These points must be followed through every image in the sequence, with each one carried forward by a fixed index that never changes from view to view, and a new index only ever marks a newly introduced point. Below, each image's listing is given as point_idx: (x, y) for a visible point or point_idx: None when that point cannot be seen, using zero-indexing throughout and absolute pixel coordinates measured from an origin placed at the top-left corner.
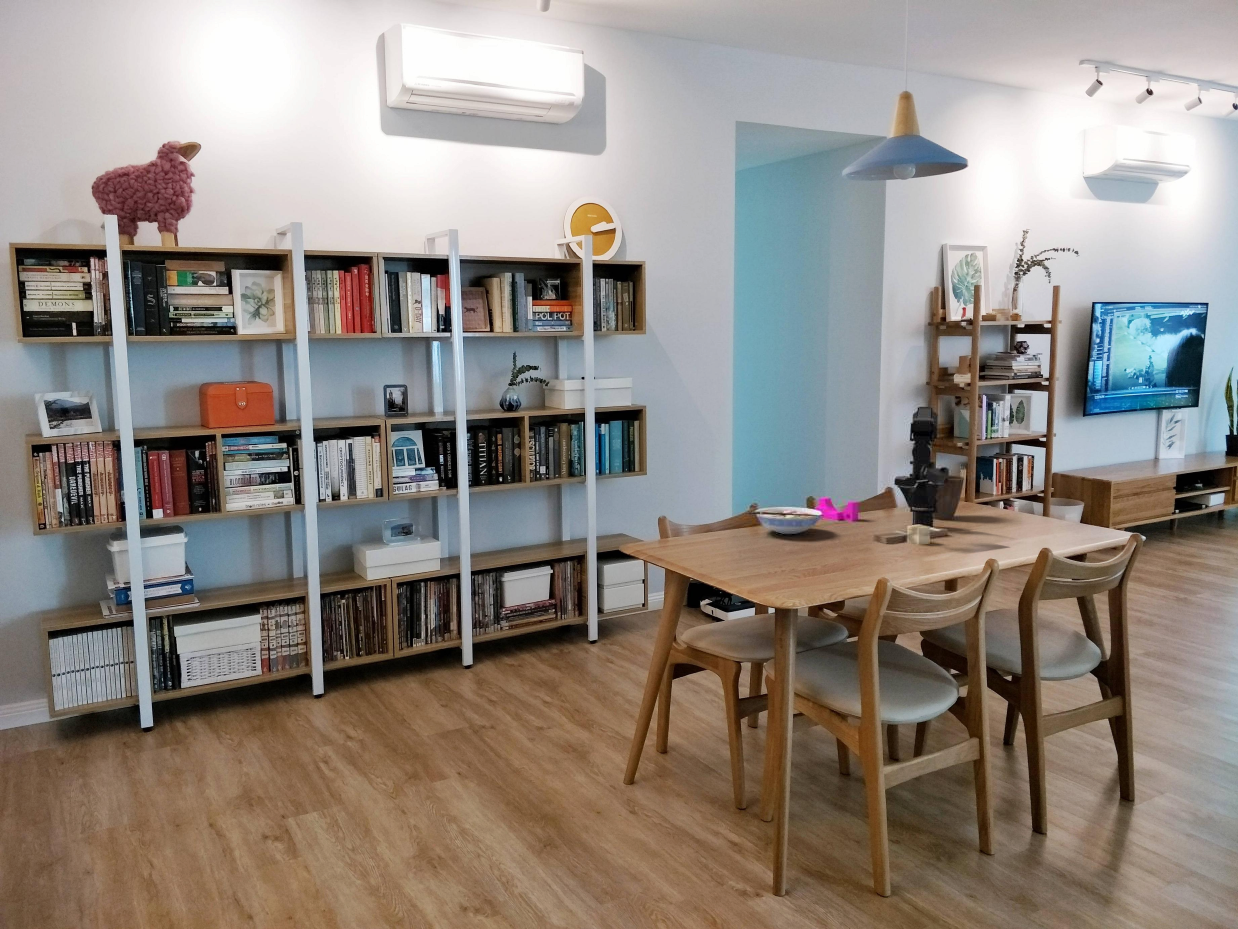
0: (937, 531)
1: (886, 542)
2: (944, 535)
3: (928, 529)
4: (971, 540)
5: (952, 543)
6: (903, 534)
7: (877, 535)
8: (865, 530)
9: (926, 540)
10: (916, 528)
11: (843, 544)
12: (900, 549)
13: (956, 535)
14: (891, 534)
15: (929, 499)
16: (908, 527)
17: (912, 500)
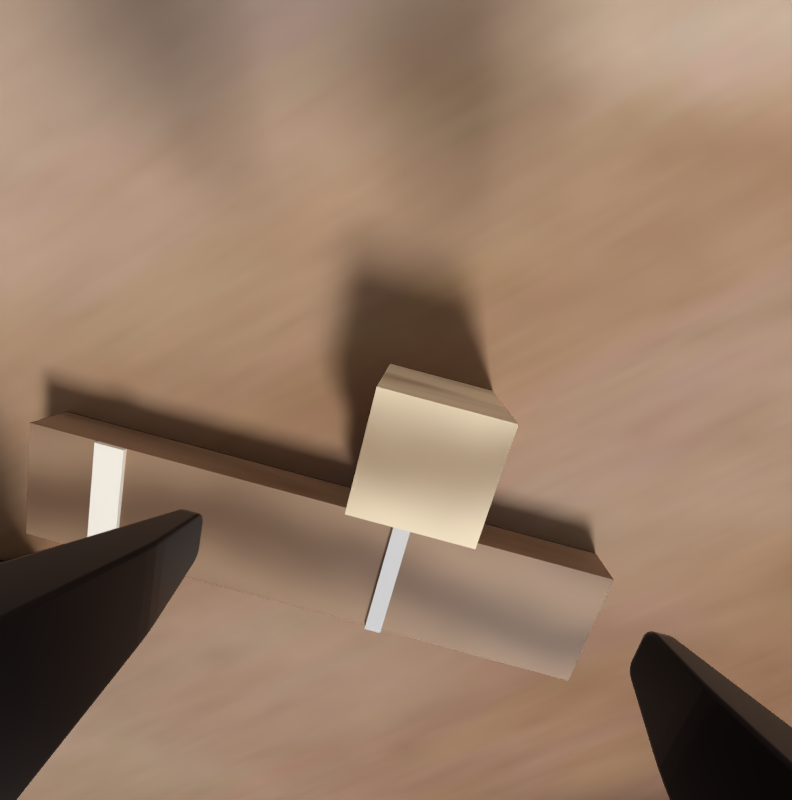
0: (133, 448)
1: (597, 557)
2: (93, 419)
3: (398, 387)
4: (78, 205)
5: (274, 248)
6: (422, 551)
7: (575, 651)
8: (308, 790)
9: (419, 376)
10: (507, 450)
11: (774, 712)
12: (719, 403)
13: (19, 371)
14: (478, 606)
15: (133, 622)
16: (478, 531)
17: (786, 745)
